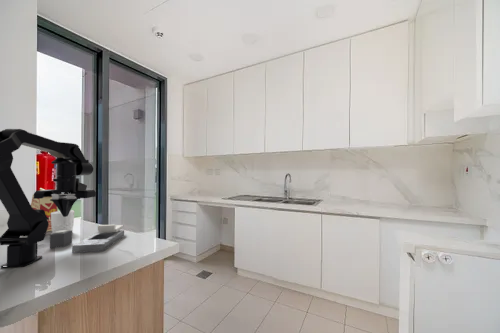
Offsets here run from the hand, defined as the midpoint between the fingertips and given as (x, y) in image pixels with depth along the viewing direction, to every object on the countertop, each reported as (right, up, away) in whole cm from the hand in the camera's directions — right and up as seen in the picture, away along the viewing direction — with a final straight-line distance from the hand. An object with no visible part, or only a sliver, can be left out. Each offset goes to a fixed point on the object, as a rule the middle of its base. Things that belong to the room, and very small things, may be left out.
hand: (65, 216), depth 79 cm
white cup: (-13, -11, +13) cm, 21 cm away
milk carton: (-27, -11, +18) cm, 34 cm away
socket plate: (+13, -11, +2) cm, 17 cm away
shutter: (+11, -8, +9) cm, 17 cm away
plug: (-1, -11, 0) cm, 11 cm away
